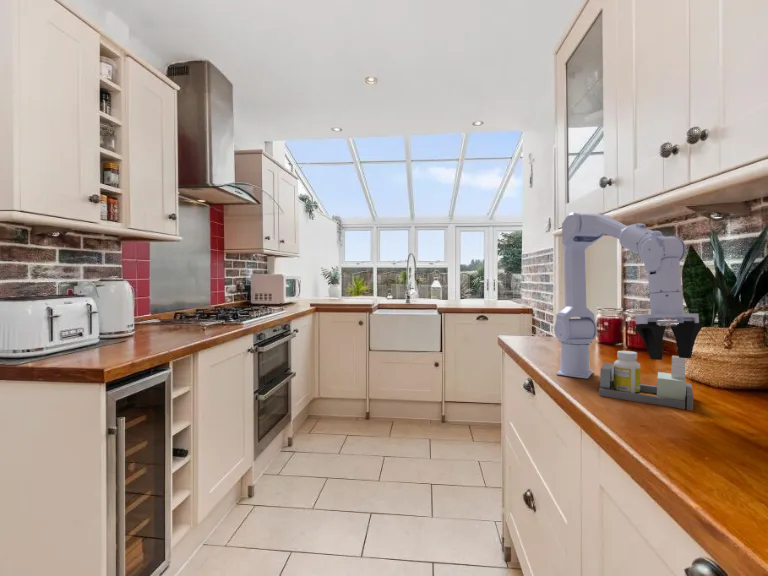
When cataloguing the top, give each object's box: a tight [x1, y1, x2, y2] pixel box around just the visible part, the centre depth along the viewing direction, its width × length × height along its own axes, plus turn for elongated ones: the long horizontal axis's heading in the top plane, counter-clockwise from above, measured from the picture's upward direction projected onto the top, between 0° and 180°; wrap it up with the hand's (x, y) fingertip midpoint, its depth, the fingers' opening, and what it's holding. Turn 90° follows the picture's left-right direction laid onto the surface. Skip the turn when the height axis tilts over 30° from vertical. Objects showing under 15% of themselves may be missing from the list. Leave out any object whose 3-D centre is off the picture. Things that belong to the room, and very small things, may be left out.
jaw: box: [656, 355, 687, 402], centre depth 92 cm, size 7×5×10 cm
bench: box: [598, 362, 694, 411], centre depth 95 cm, size 11×17×6 cm, turn 55°
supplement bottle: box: [613, 350, 641, 394], centre depth 97 cm, size 5×5×10 cm
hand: (670, 358), depth 86 cm, fingers open, 7 cm apart
